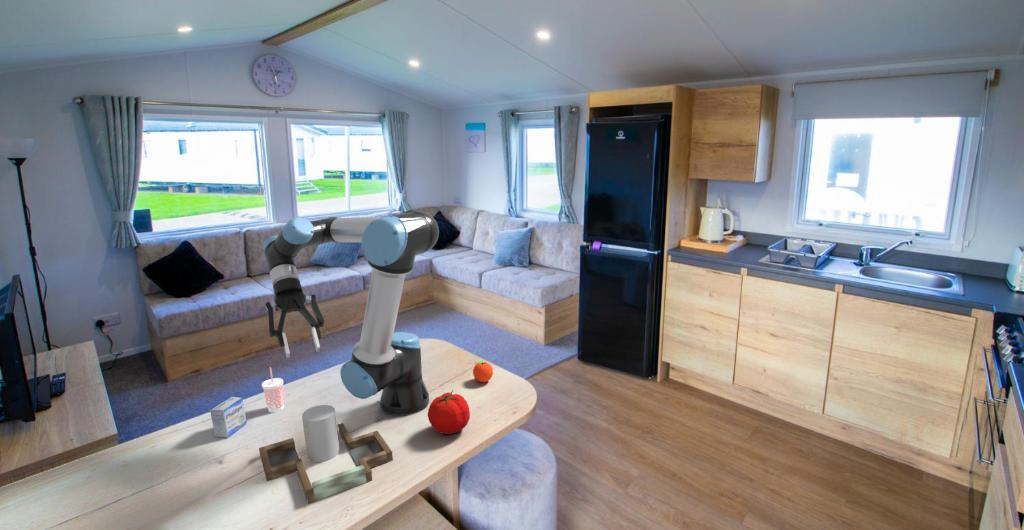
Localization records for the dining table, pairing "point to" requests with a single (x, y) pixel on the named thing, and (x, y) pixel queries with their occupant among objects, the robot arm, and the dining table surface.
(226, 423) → the medicine box
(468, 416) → the tomato
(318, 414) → the gray cylinder
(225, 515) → the dining table surface
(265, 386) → the beverage cup
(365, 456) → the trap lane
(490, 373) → the clementine
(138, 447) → the dining table surface
